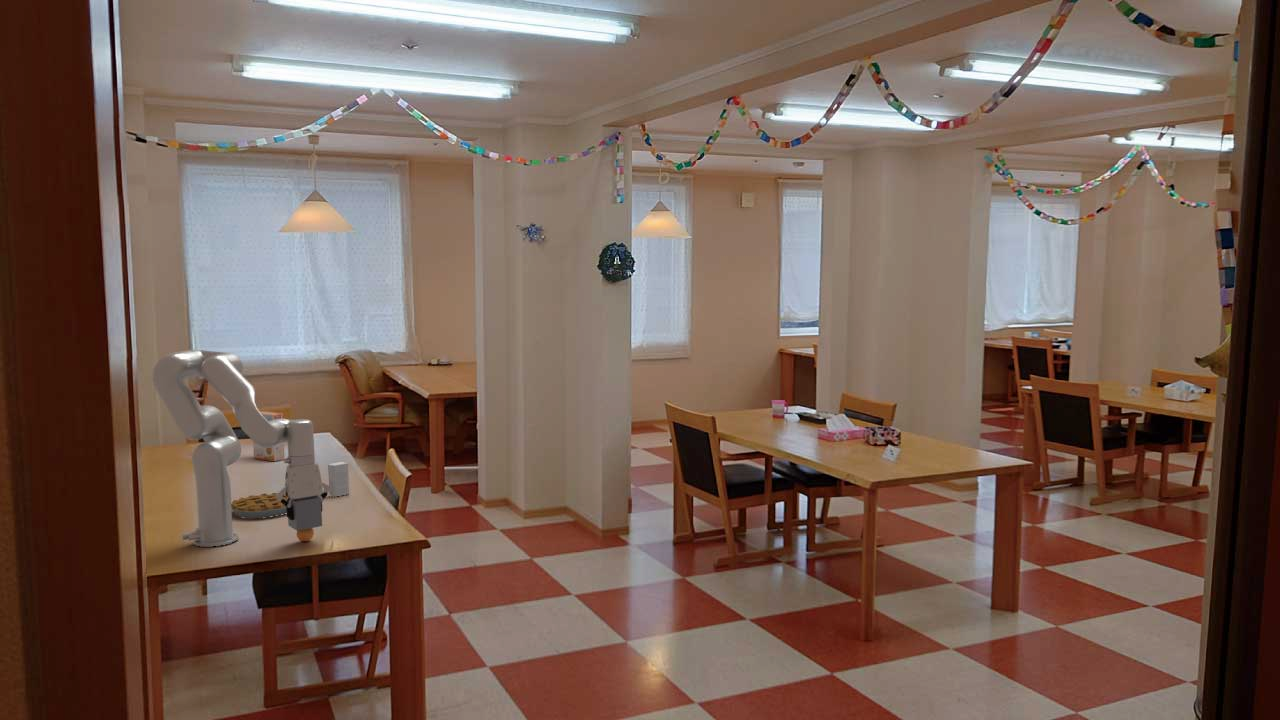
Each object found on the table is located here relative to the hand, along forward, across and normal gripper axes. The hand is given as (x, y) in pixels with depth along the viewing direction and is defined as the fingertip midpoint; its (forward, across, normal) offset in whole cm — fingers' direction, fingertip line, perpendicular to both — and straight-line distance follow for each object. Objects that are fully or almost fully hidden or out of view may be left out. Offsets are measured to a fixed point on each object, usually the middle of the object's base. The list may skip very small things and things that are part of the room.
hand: (304, 516), depth 290 cm
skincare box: (+8, +31, +53) cm, 62 cm away
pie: (+8, +2, +46) cm, 47 cm away
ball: (+6, 0, +1) cm, 6 cm away
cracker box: (+7, +32, +138) cm, 142 cm away
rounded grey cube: (+3, 0, 0) cm, 3 cm away
